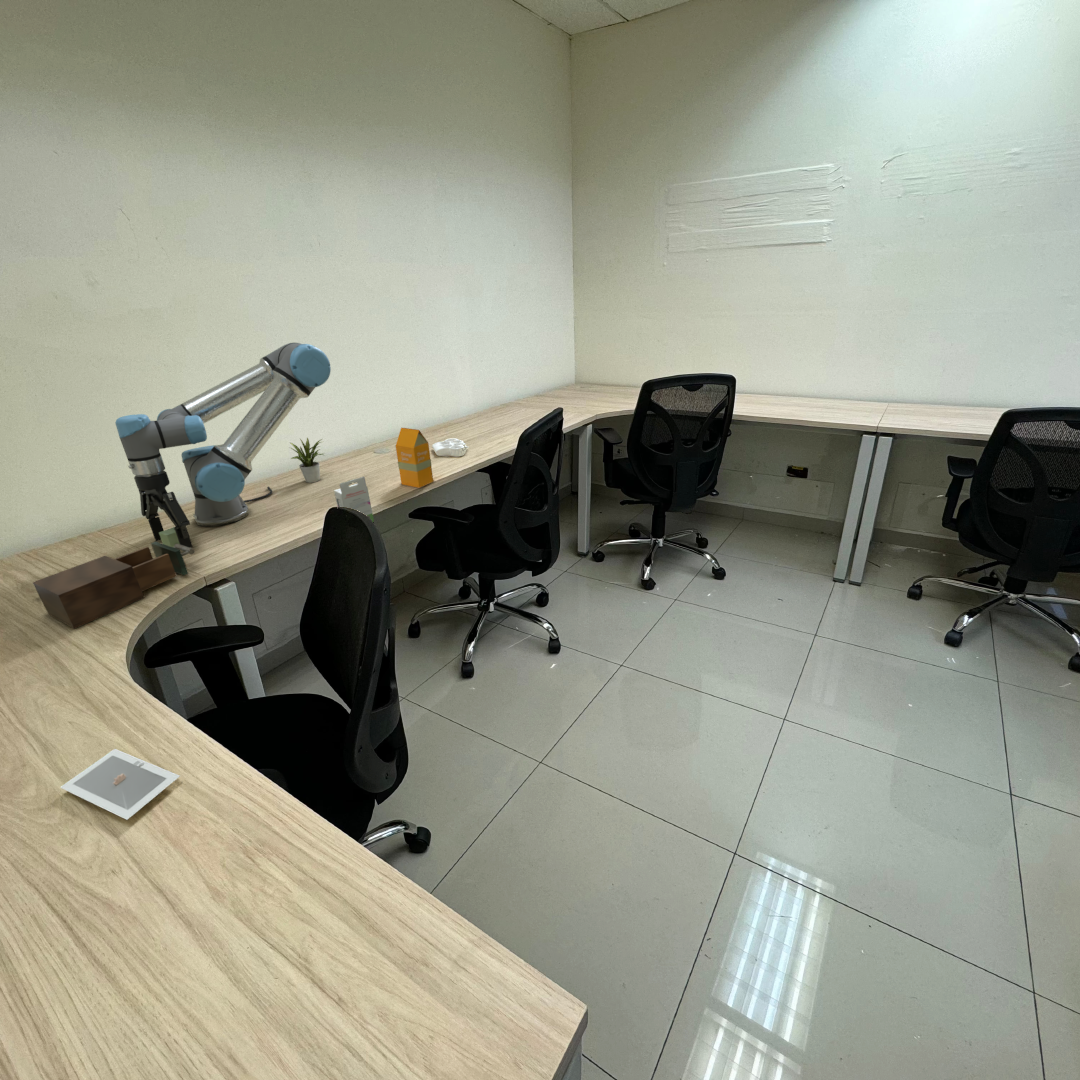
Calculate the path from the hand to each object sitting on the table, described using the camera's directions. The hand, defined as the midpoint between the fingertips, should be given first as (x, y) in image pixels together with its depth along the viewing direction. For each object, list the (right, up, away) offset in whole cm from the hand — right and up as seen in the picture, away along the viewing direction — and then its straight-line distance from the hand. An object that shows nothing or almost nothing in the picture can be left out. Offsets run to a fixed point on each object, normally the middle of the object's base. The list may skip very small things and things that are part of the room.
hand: (173, 543), depth 159 cm
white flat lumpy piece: (+68, +39, +78) cm, 110 cm away
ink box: (+50, +6, +9) cm, 51 cm away
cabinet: (+2, -15, -30) cm, 33 cm away
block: (0, 0, 0) cm, 1 cm away
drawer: (+9, -8, -19) cm, 23 cm away
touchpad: (+44, -36, -78) cm, 96 cm away
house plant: (+21, +23, +49) cm, 58 cm away
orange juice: (+61, +22, +42) cm, 77 cm away
